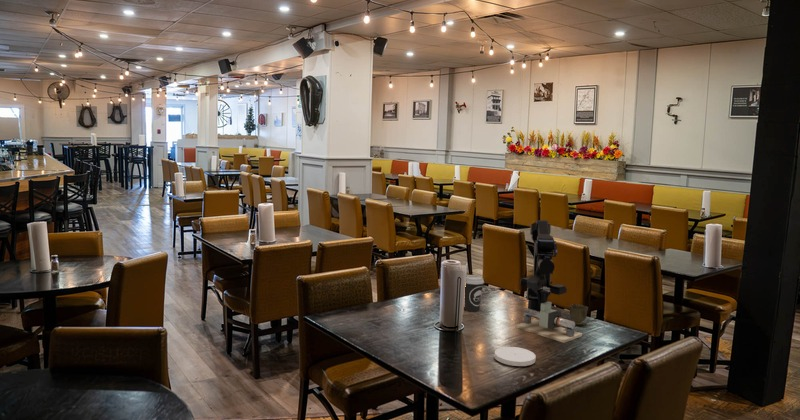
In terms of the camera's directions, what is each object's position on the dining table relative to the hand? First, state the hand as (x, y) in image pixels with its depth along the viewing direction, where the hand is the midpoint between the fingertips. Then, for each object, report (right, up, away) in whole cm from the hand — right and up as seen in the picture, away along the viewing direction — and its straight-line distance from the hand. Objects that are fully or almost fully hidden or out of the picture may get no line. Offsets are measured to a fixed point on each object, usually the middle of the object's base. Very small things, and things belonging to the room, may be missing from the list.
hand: (541, 306), depth 232 cm
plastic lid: (-18, -14, -33) cm, 40 cm away
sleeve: (+2, -7, -2) cm, 8 cm away
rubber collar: (+4, -8, -4) cm, 9 cm away
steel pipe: (+2, -10, -2) cm, 10 cm away
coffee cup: (-25, -6, +26) cm, 36 cm away
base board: (+2, -10, -2) cm, 10 cm away
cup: (+17, -9, +9) cm, 21 cm away
